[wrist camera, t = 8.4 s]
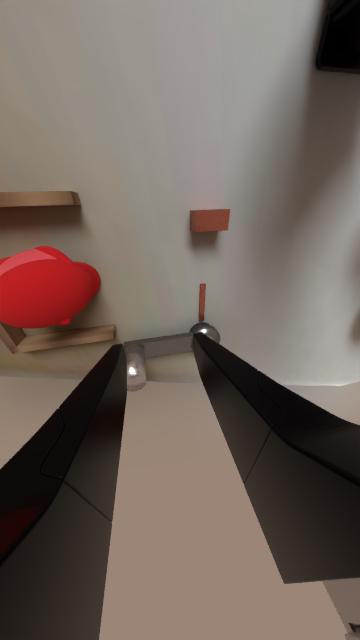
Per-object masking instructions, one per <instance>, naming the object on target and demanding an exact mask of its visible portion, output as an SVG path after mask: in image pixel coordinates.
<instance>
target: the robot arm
mask: <svg viewBox="0 0 360 640" xmlns="http://www.w3.org/2000/svg"><path fill="white" fill-rule="evenodd" d="M324 54H325V55H326V59H325V60H324ZM316 67H317V69H319V70H325V71H336V72H347V73H358V74H360V0H330V2H329V6H328V11H327V16H326V20H325V24H324V28H323V33H322V37H321V41H320V45H319V49H318V54H317V58H316ZM193 351H194V355H195V359H196V363H197V366H198V370H199V374H200V377H201V380H202V382H203V385H204V387H205V390H206V392H207V395H208V397H209V400H210V402H211V405H212V407H213V409H214V412H215V414H216V417H217V419H218V422H219V424H220V427H221V429H222V432H223V434H224V437H225V439H226V441H227V444H228V446H229V449H230V451H231V454H232V456H233V458H234V461H235V464H236V466H237V468H238V471H239V474H240V476H241V478H242V481H243V483H244V486H245V489H246V491H247V494H248V496H249V499H250V501H251V503H252V506H253V508H254V511H255V513H256V516H257V518H258V521H259V523H260V526H261V528H262V530H263V533H264V535H265V538H266V540H267V543H268V545H269V548H270V550H271V553H272V555H273V558H274V560H275V563H276V565H277V568H278V570H279V572H280V575H281V577H282V579H283V582H284V584H290V583H302V582H314V581H322V582H323V584H324V585H325V588H326V590H327V592H328V594H329V596H330V598H331V600H332V602H333V604H334V606H335V608H336V610H337V612H338V614H339V615H340V618H341V620H342V622H343V624H344V626H345V628H346V630H347V632H348V633H347V634H345V637H346V640H360V425H357V424H354V423H351V422H348V421H346V420H343V419H341V418H339V417H337V416H335V415H333V414H331V413H329V412H328V411H326V410H324V409H322V408H321V407H319V406H317V405H315V404H314V403H312V402H310V401H308V400H306V399H304V398H303V397H301V396H299V395H298V394H296V393H294V392H292V391H291V390H289V389H287V388H285V387H284V386H282V385H280V384H279V383H277V382H276V381H274V380H272V379H271V378H269V377H268V376H266V375H265V374H263V373H262V372H260V371H258V370H257V369H256V368H254V367H253V366H251V365H250V364H248V363H247V362H245V361H244V360H242V359H241V358H239V357H238V356H236V355H235V354H233V353H232V352H230V351H229V350H227V349H226V348H224V347H223V346H221V345H220V344H218V343H217V342H215V341H214V340H212V339H211V338H209V337H208V336H206V335H205V334H203V333H202V332H197V333H193ZM126 395H127V358H126V354H125V350H124V347H123V345H122V344H115V345H113V346H112V347H111V348H110V349H109V350H108V351H107V352H106V354H105V355H104V356H103V357H102V358H101V359H100V360H99V362H98V363H97V364H96V365H95V366H94V367H93V369H92V370H91V371H90V372H89V373H88V374H87V375H86V377H85V378H84V379H83V380H82V381H81V382H80V383H79V385H78V386H77V387H76V388H75V390H73V392H72V393H71V394H70V395H69V396H68V397H67V398H66V400H65V401H64V402H63V403H62V404H61V405H60V407H59V409H57V410H56V411H55V412H54V413H53V414H52V416H51V417H50V418H49V419H48V420H47V421H46V422H45V424H43V426H42V427H41V428H40V429H39V430H38V431H37V432H36V433H35V434H34V436H32V438H31V439H30V440H29V441H28V442H27V443H26V444H25V445H24V446H23V447H22V448H21V449H20V450H19V451H18V452H17V453H16V454H15V455H14V456H13V457H12V458H11V459H10V460H9V461H8V462H7V463H6V464H5V465H4V466H3V467H2V468H1V469H0V640H99V634H100V624H101V616H102V607H103V599H104V589H105V581H106V572H107V563H108V554H109V546H110V537H111V528H112V523H111V522H112V519H113V510H114V501H115V491H116V483H117V475H118V466H119V458H120V448H121V439H122V431H123V422H124V414H125V405H126Z"/></svg>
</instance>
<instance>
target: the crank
mask: <svg viewBox="0 0 360 640" xmlns="http://www.w3.org/2000/svg"><path fill="white" fill-rule="evenodd" d="M197 332H202V333H203V334H205V335H206V336H208V337H209V338H211V339H212V340H214V341H215V342H217V343H218V344H219V342H220V334H219V333H218V331H217V330H216V328H214V327H213V326H210V325H204V326H200V327H198V328H196V329H195V330H194V331H193V332H190V333H183V334H176V335H170V336H163V337H156V338H149V339H142V340H135V341H128V342H124V346H123V347H124V350H125V354H126V358H127V391H137V390H139V389H141V388H143V387H144V386H145V384H146V365H145V358H150V357H157V356H163V355H169V354H175V353H181V352H188V351H193V333H197Z"/></svg>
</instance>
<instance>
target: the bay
mask: <svg viewBox="0 0 360 640" xmlns="http://www.w3.org/2000/svg"><path fill="white" fill-rule="evenodd" d="M62 205H81V203H80V200H79V196H78V193H76V192H72V191H49V192H2V193H0V207H31V206H62ZM115 335H116V327H115V325H108V326H101V327H93V328H85V329H78V330H70V331H62V332H55V333H47V334H39V335H31V336H26V335H25V334H24V332H23V331H22V329H21V328H19V327H14V326H10V325H7V324H5V323H3V322H1V321H0V338H1V339H2V341H3V342H4V343H5V345H6V346H7V347H8V349H9V350H10V351H11V353H12V354H13V353H20V352H27V351H34V350H41V349H48V348H56V347H63V346H70V345H77V344H84V343H91V342H98V341H105V340H112V339H115Z"/></svg>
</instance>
